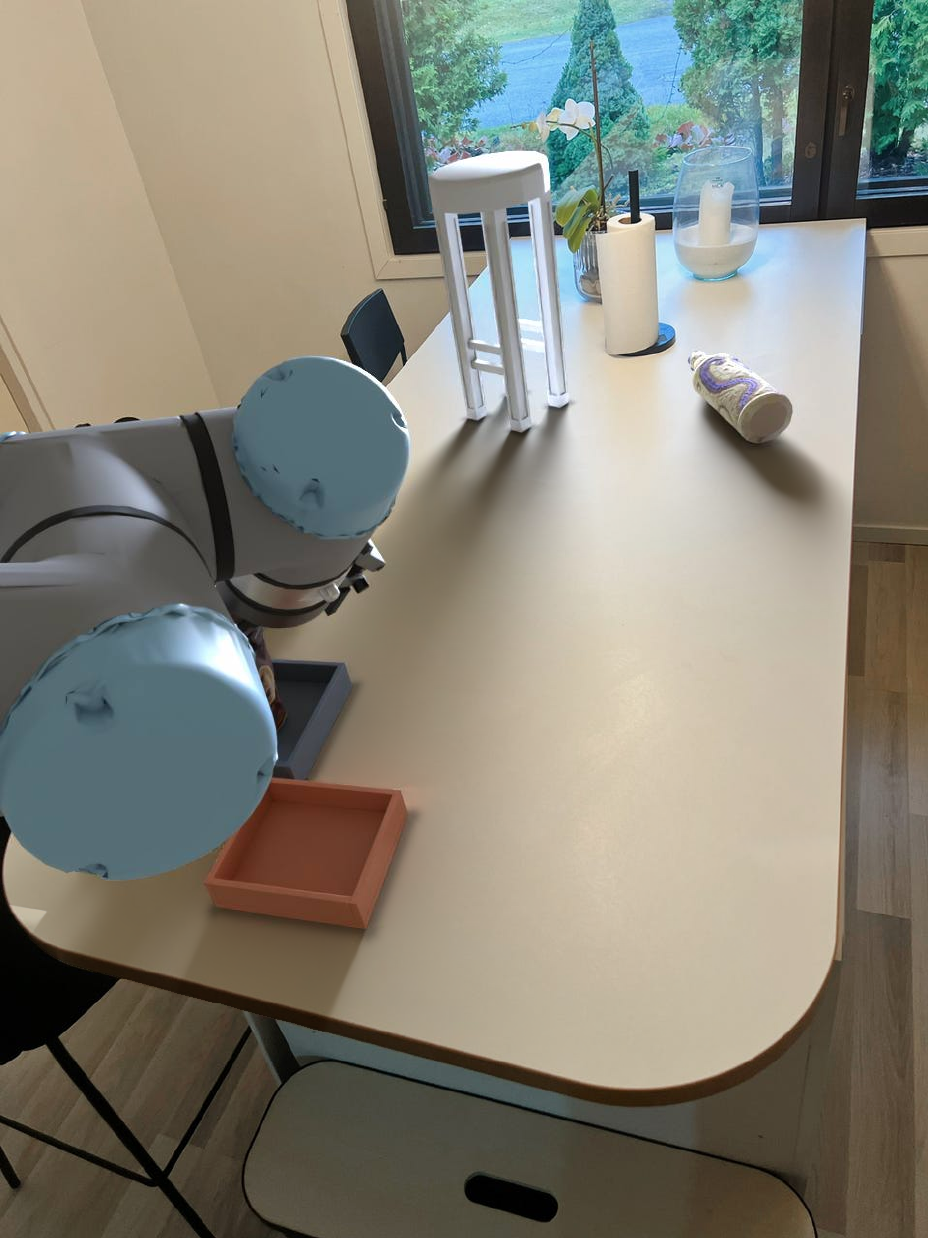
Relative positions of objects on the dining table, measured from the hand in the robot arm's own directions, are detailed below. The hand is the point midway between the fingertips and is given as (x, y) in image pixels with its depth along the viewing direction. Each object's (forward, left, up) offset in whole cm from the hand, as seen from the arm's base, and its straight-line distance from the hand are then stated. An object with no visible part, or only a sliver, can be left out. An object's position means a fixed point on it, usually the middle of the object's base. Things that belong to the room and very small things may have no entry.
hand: (250, 640), depth 69 cm
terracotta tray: (+4, -7, -18) cm, 20 cm away
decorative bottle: (+36, +76, -18) cm, 86 cm away
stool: (+4, +78, -18) cm, 80 cm away
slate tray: (-8, +7, -18) cm, 21 cm away
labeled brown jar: (-8, +7, -17) cm, 20 cm away
